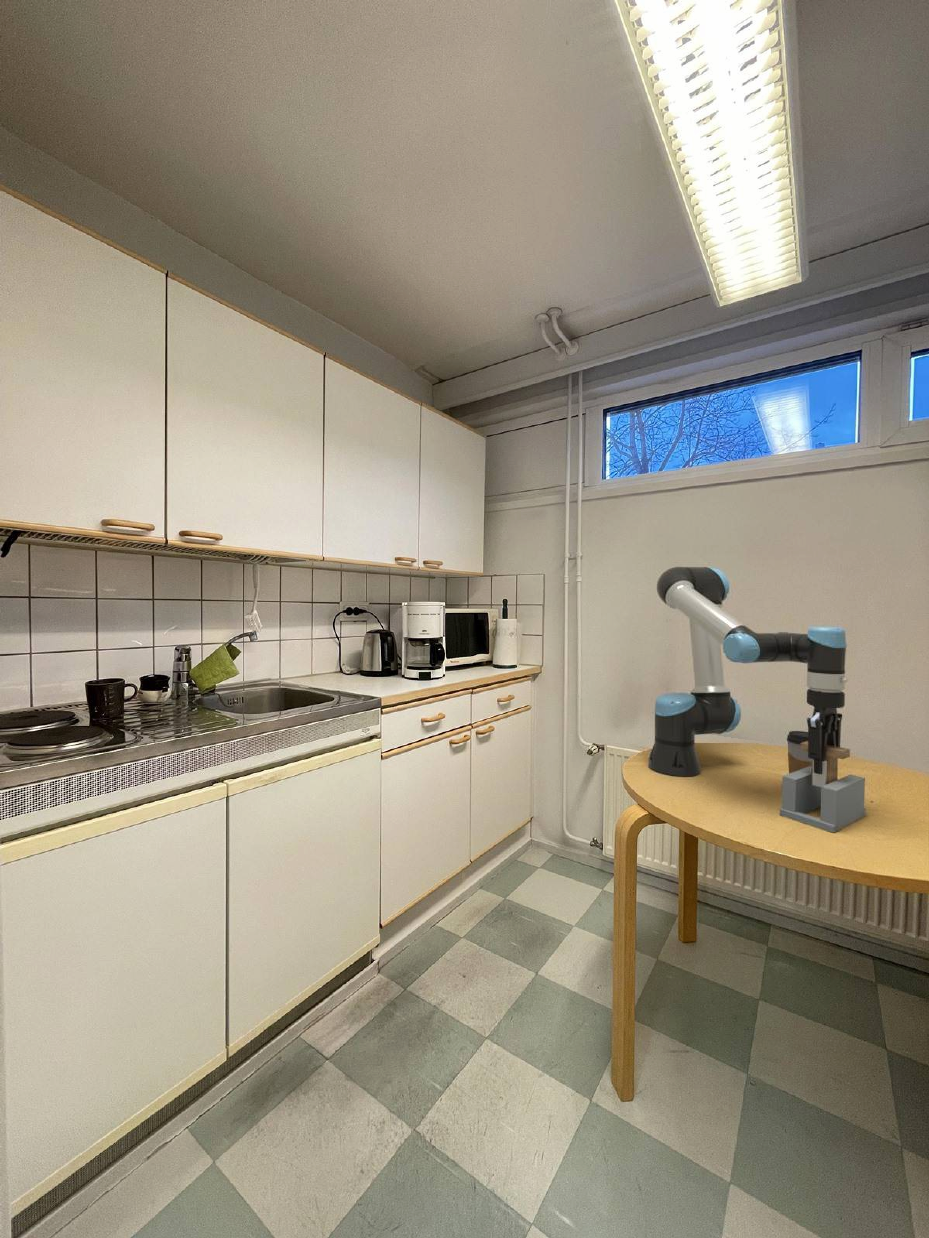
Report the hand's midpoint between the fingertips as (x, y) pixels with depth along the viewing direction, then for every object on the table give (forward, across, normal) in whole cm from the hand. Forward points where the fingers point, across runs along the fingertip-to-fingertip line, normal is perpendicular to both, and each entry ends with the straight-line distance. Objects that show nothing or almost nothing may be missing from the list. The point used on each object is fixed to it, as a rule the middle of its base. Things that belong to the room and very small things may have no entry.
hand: (823, 784), depth 122 cm
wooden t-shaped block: (0, 0, 0) cm, 0 cm away
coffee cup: (+8, +18, +12) cm, 23 cm away
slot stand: (+8, 0, 0) cm, 8 cm away
